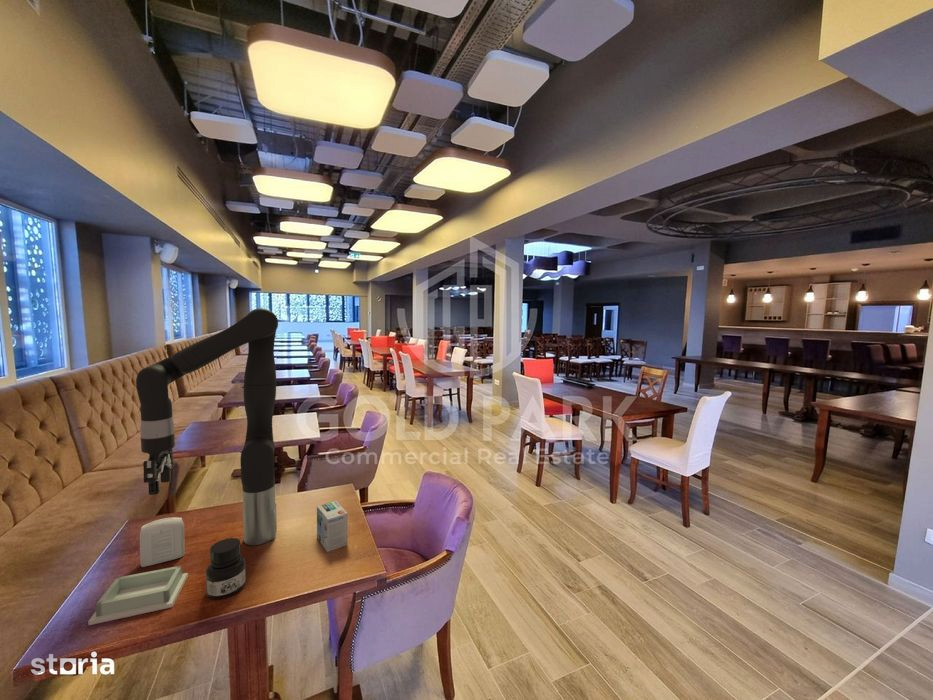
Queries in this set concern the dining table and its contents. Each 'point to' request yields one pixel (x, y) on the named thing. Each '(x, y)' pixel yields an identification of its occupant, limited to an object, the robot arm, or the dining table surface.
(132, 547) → the dining table surface
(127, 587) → the printer dock
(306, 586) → the dining table surface
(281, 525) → the dining table surface
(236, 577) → the ink bottle
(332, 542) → the light bulb box
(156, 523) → the photo printer
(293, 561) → the dining table surface
